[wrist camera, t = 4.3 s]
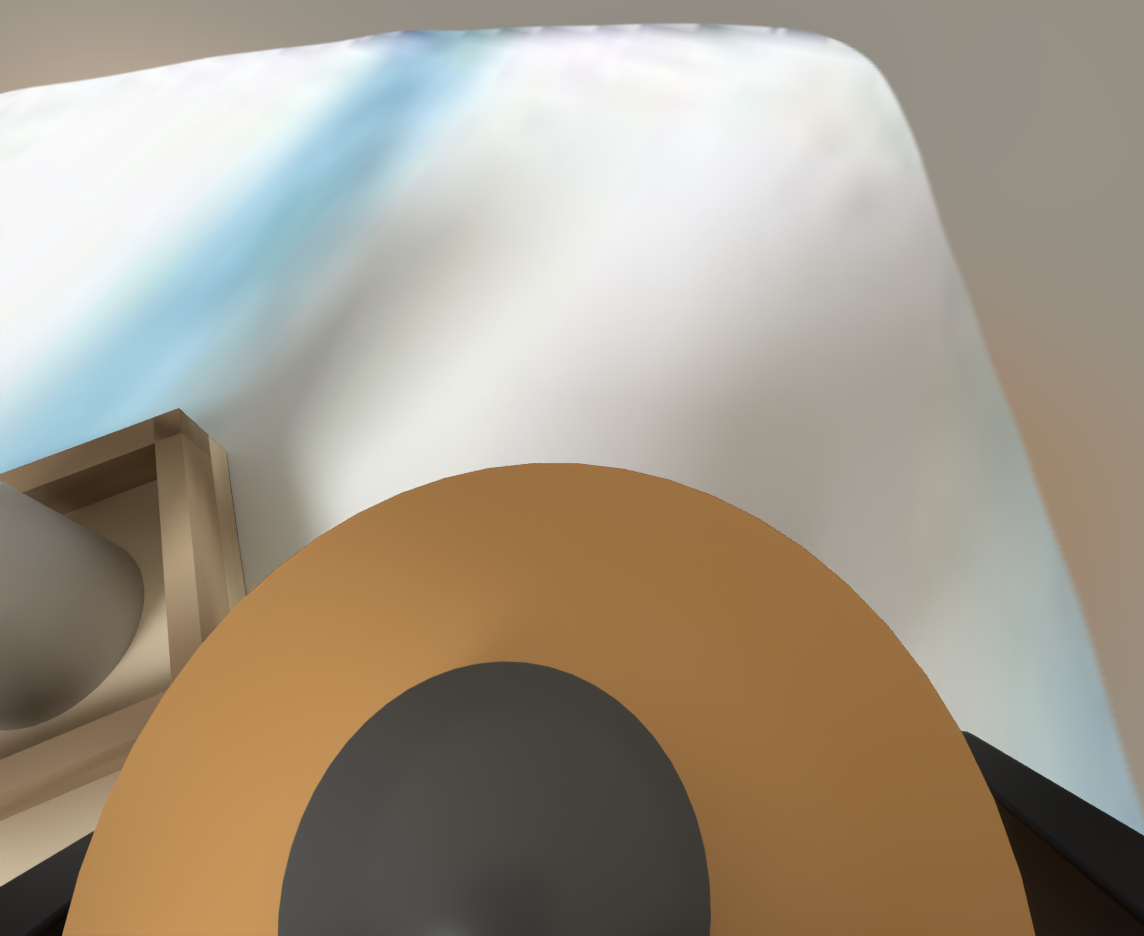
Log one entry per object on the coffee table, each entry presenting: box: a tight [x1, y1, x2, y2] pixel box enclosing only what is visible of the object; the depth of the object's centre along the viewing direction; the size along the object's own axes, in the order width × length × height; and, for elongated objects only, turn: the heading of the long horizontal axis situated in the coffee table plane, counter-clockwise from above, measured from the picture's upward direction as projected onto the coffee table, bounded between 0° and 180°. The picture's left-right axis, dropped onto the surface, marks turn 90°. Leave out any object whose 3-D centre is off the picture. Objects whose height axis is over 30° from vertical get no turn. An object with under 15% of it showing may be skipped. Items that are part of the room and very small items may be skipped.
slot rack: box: [0, 408, 246, 886], centre depth 16 cm, size 18×10×2 cm, turn 22°
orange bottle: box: [62, 463, 1035, 936], centre depth 9 cm, size 5×5×14 cm
